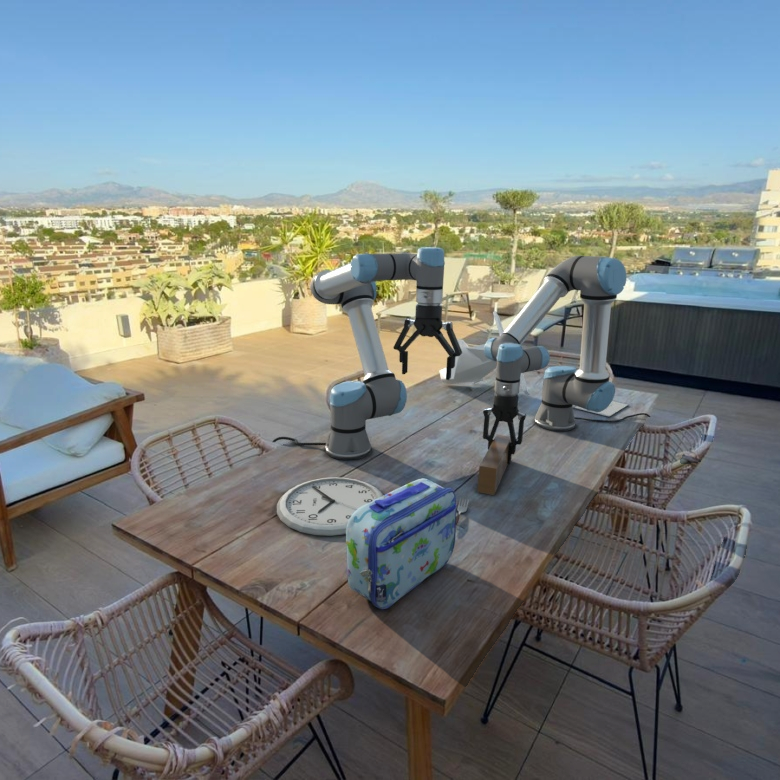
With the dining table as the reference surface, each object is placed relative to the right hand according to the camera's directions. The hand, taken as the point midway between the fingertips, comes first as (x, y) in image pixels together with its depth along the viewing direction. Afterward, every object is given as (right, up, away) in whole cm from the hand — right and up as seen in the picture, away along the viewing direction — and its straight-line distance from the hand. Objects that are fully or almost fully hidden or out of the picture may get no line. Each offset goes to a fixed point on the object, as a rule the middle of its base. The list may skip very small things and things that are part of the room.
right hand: (500, 460), depth 171 cm
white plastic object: (+5, +22, +72) cm, 76 cm away
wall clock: (-52, -8, -28) cm, 60 cm away
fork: (-18, -11, -33) cm, 40 cm away
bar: (-4, -3, -9) cm, 10 cm away
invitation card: (+55, +16, +55) cm, 80 cm away
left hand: (-25, +27, -16) cm, 41 cm away
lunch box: (-33, -18, -58) cm, 69 cm away
